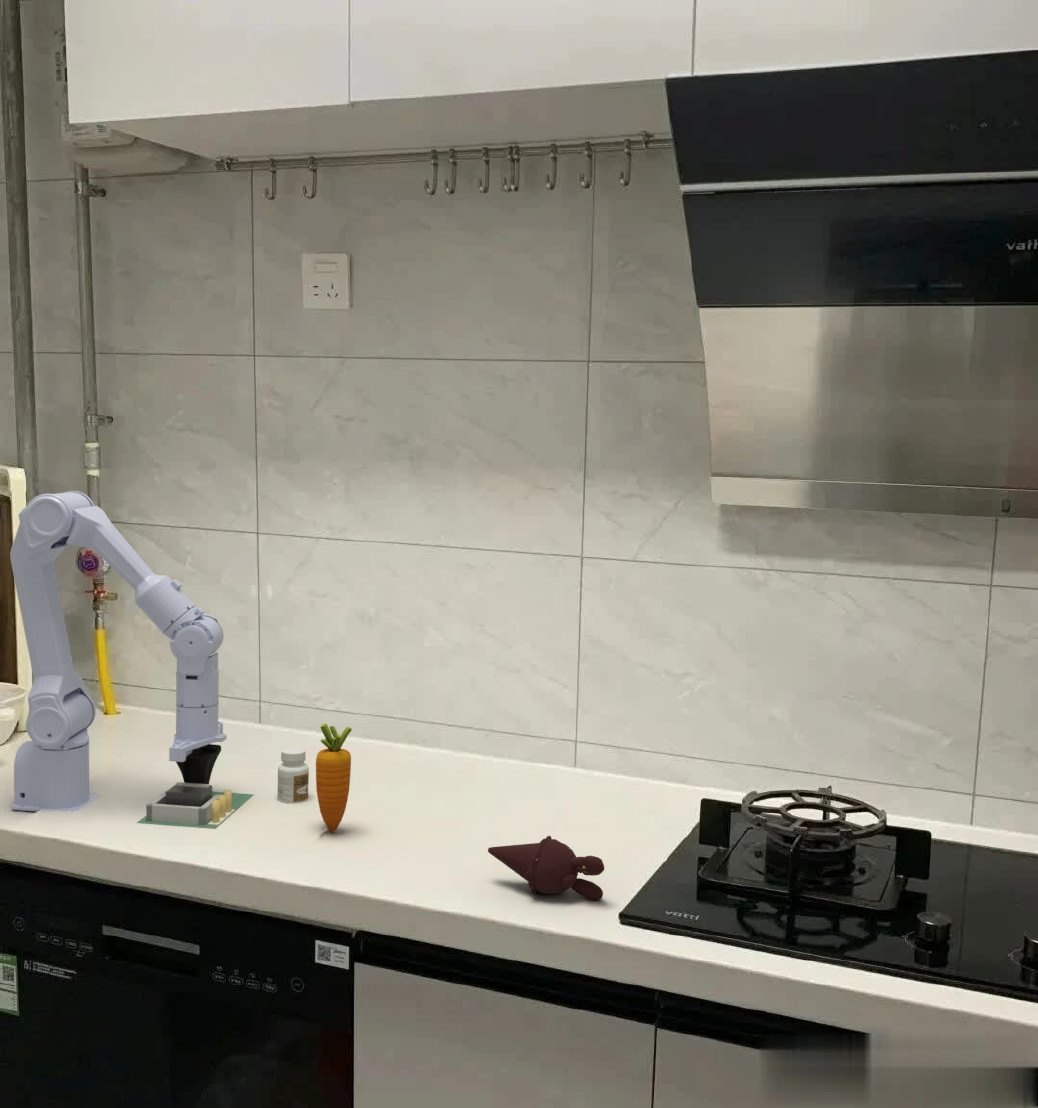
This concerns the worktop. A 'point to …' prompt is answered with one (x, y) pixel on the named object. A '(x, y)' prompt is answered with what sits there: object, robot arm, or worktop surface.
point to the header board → (195, 811)
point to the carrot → (333, 776)
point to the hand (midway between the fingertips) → (197, 798)
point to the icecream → (551, 867)
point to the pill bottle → (293, 776)
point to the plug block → (189, 794)
